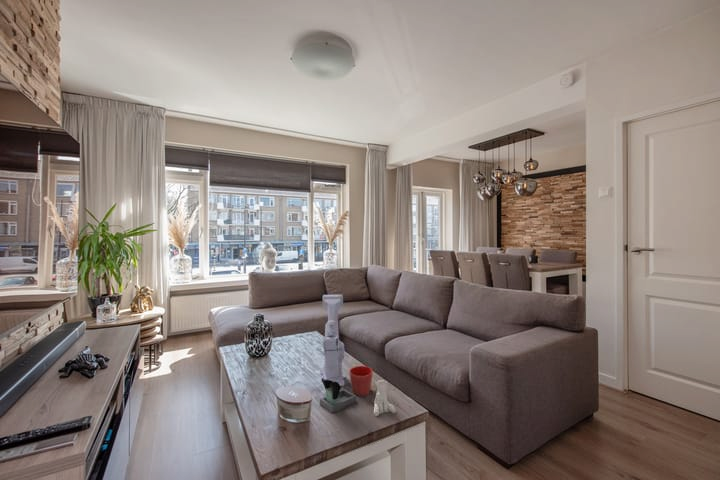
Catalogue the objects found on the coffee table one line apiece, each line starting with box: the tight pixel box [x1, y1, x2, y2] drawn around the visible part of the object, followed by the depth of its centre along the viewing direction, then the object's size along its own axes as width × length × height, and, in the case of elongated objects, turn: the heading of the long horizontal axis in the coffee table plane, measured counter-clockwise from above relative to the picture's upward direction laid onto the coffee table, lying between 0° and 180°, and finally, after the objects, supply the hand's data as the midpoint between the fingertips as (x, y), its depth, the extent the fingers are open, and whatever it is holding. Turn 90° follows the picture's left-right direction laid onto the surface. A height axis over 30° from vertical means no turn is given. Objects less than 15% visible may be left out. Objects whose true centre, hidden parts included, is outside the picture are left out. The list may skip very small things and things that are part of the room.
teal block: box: [325, 387, 339, 404], centre depth 134 cm, size 4×4×5 cm
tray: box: [319, 388, 357, 414], centre depth 136 cm, size 9×13×2 cm
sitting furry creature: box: [373, 379, 397, 417], centre depth 130 cm, size 10×9×12 cm
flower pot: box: [349, 365, 373, 396], centre depth 145 cm, size 11×11×10 cm
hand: (332, 396), depth 134 cm, fingers closed on teal block, 4 cm apart
